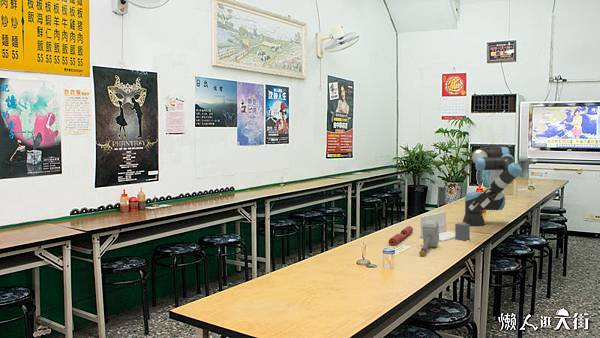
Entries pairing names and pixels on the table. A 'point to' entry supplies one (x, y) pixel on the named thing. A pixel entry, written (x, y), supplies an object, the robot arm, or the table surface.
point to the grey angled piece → (430, 235)
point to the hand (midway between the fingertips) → (476, 207)
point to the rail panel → (441, 220)
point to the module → (462, 231)
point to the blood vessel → (400, 236)
